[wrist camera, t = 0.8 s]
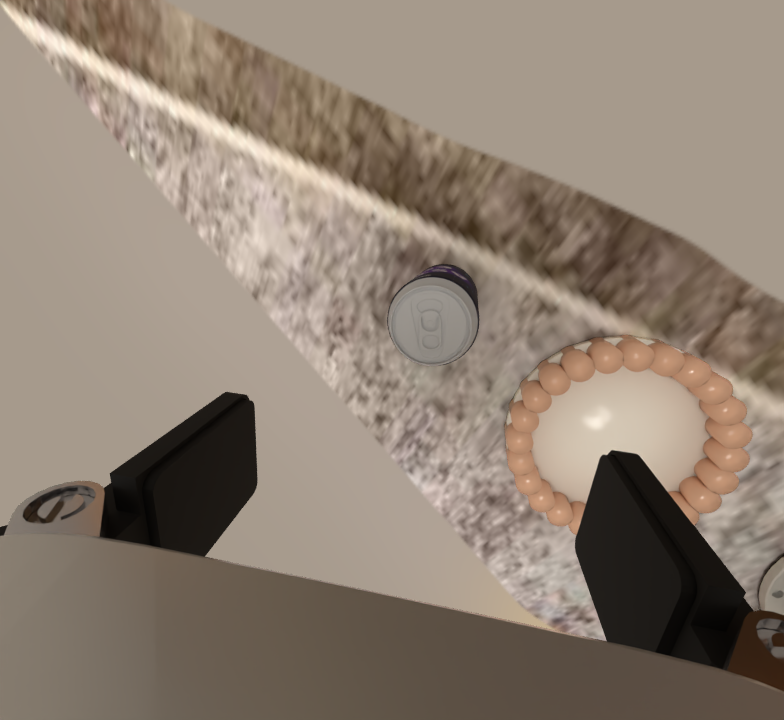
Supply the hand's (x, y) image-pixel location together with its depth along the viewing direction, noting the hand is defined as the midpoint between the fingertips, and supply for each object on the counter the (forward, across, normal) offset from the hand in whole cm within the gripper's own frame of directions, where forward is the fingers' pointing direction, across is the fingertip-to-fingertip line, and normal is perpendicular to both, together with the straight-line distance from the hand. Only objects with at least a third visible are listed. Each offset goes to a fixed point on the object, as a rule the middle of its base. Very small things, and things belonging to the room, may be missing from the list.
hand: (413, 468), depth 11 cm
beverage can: (+26, 0, 0) cm, 26 cm away
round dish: (+25, -16, +10) cm, 31 cm away
